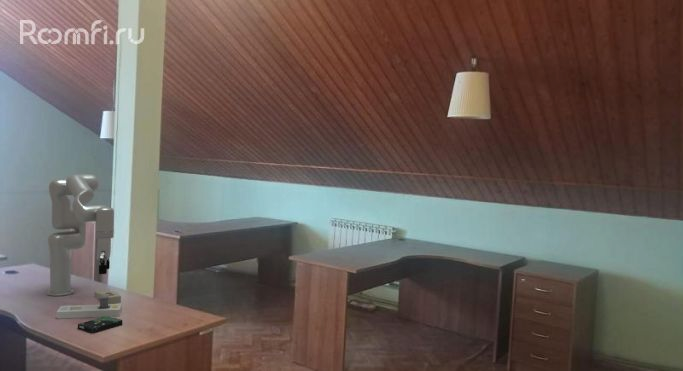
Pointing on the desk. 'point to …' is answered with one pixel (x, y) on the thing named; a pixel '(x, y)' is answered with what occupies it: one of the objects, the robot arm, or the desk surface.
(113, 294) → the electrical outlet
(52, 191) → the robot arm
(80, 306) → the white device panel
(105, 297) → the plug
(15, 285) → the desk surface
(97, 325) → the disk drive
